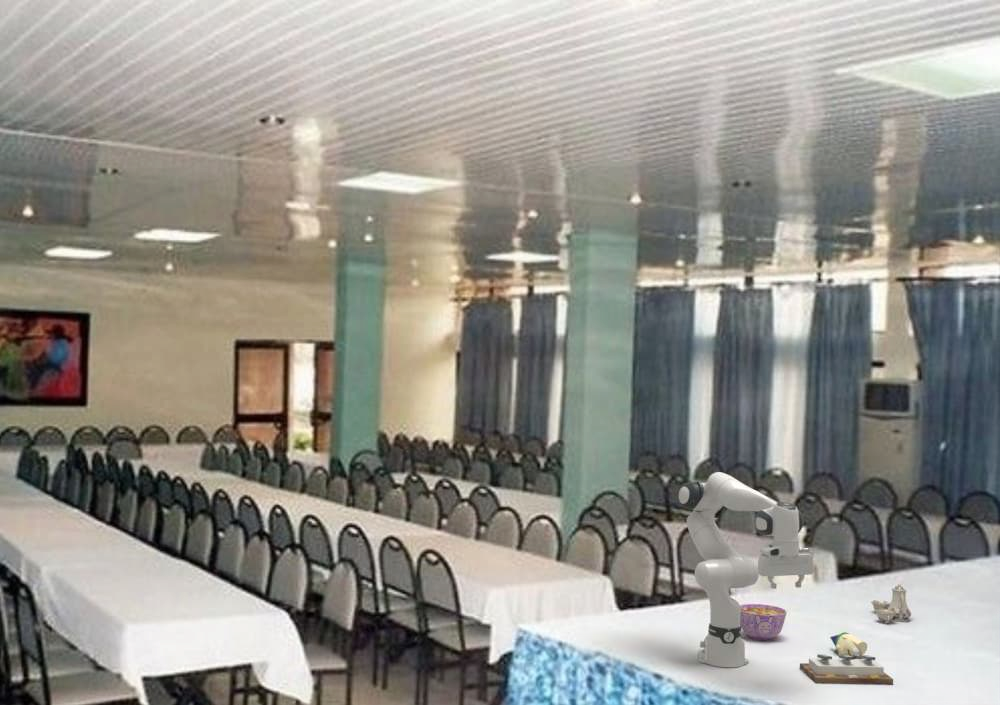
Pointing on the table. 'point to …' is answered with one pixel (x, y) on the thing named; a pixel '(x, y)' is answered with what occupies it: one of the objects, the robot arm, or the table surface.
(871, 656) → the block
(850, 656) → the rocker
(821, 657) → the block
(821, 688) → the table surface
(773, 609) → the bowl of food
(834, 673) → the switch housing
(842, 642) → the cartoon head
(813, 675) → the chart board
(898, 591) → the chinaware
